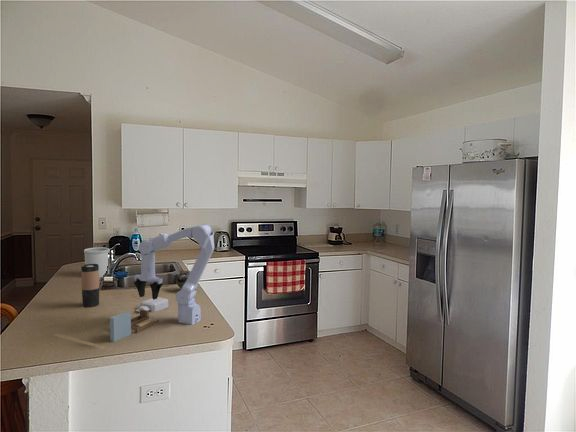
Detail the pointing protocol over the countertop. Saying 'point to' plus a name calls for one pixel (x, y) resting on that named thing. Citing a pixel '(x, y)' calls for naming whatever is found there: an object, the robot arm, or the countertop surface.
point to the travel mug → (90, 285)
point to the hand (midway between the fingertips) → (148, 297)
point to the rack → (143, 316)
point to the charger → (153, 304)
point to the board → (120, 326)
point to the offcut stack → (142, 323)
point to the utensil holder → (97, 258)
